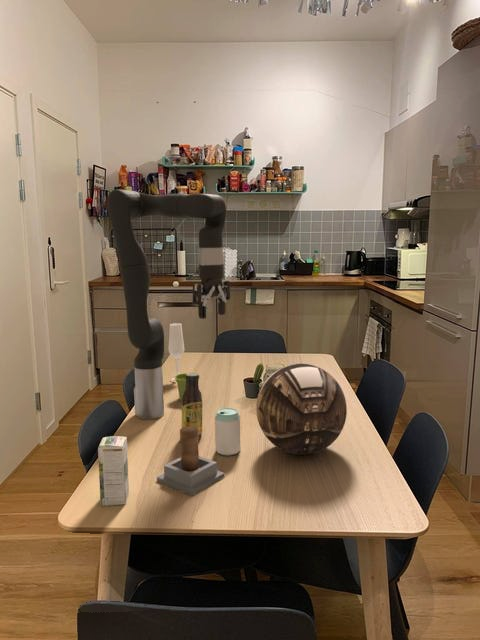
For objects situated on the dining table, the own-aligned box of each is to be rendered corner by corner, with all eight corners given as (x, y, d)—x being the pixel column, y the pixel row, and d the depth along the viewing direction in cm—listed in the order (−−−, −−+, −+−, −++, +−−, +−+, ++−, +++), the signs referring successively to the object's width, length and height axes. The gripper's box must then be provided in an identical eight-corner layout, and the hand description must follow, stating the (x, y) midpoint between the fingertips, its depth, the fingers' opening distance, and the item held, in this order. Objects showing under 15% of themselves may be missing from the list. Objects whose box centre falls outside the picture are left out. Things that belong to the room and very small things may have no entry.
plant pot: (170, 401, 187) (169, 378, 185) (182, 393, 195) (182, 371, 194) (193, 404, 183) (192, 380, 182) (204, 396, 192) (204, 374, 190)
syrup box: (104, 493, 121) (101, 436, 118) (129, 492, 121) (126, 435, 119) (100, 506, 115) (96, 446, 113) (126, 505, 116) (123, 445, 113)
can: (231, 459, 138) (231, 417, 136) (210, 453, 142) (209, 412, 140) (245, 449, 144) (244, 409, 142) (224, 444, 148) (223, 405, 146)
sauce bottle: (186, 443, 149) (184, 378, 146) (178, 435, 155) (176, 373, 151) (206, 438, 152) (205, 375, 149) (198, 431, 158) (196, 370, 154)
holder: (157, 480, 127) (156, 465, 126) (190, 463, 136) (190, 449, 135) (191, 495, 119) (190, 480, 119) (224, 476, 128) (224, 461, 128)
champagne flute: (188, 379, 213) (187, 323, 209) (178, 383, 208) (176, 326, 204) (176, 377, 217) (174, 322, 213) (166, 381, 211) (164, 325, 207)
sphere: (327, 430, 157) (329, 352, 153) (360, 466, 133) (362, 374, 129) (249, 436, 153) (248, 356, 149) (267, 475, 129) (267, 380, 125)
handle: (177, 475, 127) (175, 430, 125) (190, 468, 131) (188, 425, 129) (190, 481, 124) (188, 435, 122) (203, 473, 128) (201, 429, 126)
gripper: (217, 261, 158) (218, 312, 161) (185, 264, 147) (186, 318, 150) (236, 262, 154) (236, 314, 156) (204, 264, 143) (205, 321, 146)
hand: (212, 316), depth 153 cm, fingers open, 8 cm apart
